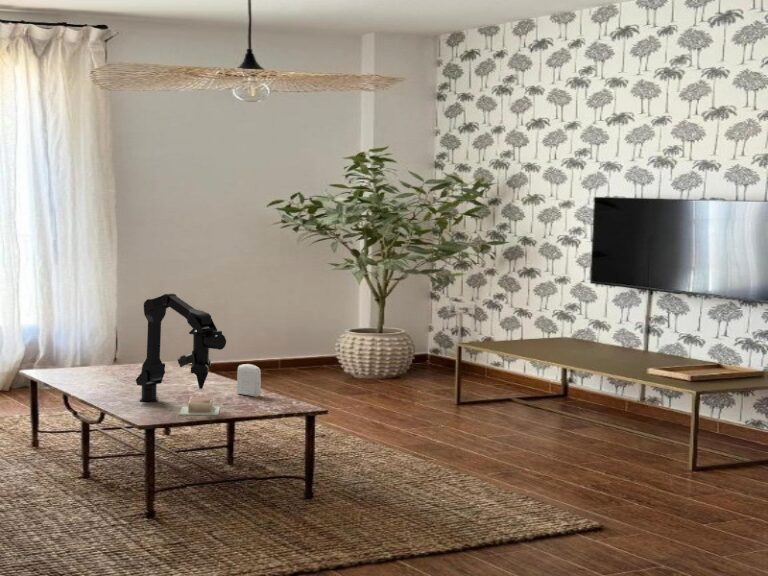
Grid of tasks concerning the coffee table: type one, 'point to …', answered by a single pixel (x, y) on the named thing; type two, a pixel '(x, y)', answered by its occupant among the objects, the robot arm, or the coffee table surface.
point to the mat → (185, 412)
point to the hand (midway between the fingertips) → (200, 388)
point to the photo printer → (248, 380)
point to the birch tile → (200, 404)
